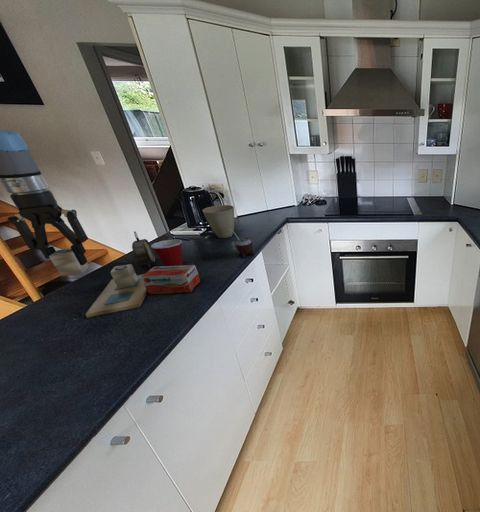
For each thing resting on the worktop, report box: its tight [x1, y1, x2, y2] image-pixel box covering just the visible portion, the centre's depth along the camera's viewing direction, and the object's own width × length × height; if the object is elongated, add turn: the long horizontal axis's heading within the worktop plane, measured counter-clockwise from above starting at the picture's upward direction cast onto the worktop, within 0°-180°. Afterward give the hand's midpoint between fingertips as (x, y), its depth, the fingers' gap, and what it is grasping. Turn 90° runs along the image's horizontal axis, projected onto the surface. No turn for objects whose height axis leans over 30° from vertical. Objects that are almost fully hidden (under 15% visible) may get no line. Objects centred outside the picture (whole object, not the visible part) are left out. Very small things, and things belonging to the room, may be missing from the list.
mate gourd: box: [227, 229, 254, 259], centre depth 129 cm, size 8×8×15 cm
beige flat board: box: [85, 273, 148, 319], centre depth 102 cm, size 14×24×2 cm, turn 26°
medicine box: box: [141, 264, 201, 295], centre depth 104 cm, size 15×8×8 cm, turn 98°
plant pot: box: [201, 204, 235, 239], centre depth 150 cm, size 15×15×16 cm
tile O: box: [110, 263, 138, 288], centre depth 104 cm, size 5×5×7 cm
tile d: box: [49, 247, 90, 277], centre depth 85 cm, size 5×5×7 cm
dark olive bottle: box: [131, 230, 156, 270], centre depth 118 cm, size 11×5×16 cm, turn 32°
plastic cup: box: [150, 239, 184, 266], centre depth 118 cm, size 11×11×12 cm
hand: (72, 265), depth 86 cm, fingers closed on tile d, 5 cm apart
